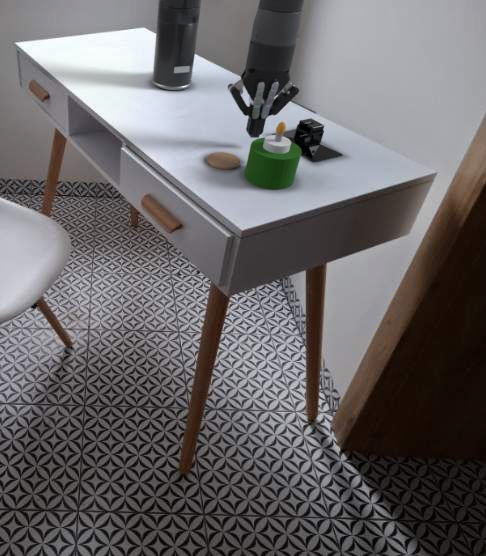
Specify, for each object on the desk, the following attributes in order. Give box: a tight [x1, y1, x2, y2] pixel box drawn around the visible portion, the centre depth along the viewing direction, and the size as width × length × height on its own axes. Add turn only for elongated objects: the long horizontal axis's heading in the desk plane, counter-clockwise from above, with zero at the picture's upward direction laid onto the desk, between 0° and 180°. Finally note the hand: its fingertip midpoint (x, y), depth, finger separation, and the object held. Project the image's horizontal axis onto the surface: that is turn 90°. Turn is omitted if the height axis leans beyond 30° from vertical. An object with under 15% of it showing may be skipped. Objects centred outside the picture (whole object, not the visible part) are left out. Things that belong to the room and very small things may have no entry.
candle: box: [244, 121, 302, 191], centre depth 86 cm, size 8×8×10 cm
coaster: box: [206, 151, 241, 170], centre depth 93 cm, size 6×6×1 cm
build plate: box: [270, 117, 343, 163], centre depth 98 cm, size 12×7×5 cm, turn 26°
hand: (253, 135), depth 97 cm, fingers closed
